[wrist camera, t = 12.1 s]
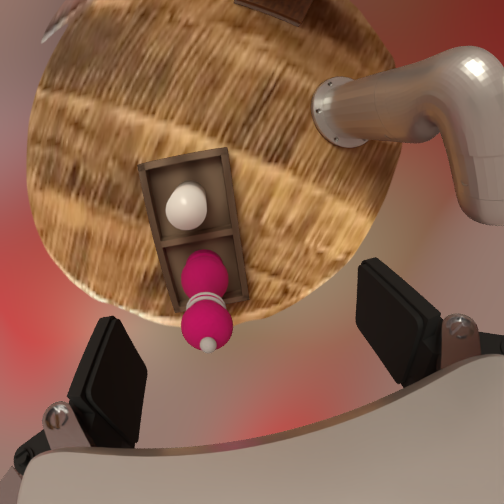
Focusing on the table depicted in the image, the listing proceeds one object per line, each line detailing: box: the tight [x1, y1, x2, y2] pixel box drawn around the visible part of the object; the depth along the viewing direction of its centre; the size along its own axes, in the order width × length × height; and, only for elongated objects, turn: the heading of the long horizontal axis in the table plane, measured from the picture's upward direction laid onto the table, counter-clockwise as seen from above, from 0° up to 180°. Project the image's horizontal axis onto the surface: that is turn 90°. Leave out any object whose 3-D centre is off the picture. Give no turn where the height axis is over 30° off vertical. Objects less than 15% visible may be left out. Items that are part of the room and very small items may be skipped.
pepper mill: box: [181, 249, 233, 353], centre depth 35 cm, size 7×7×20 cm
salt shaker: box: [166, 180, 207, 230], centre depth 36 cm, size 5×5×9 cm
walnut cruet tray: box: [138, 147, 249, 313], centre depth 42 cm, size 13×25×3 cm, turn 7°
